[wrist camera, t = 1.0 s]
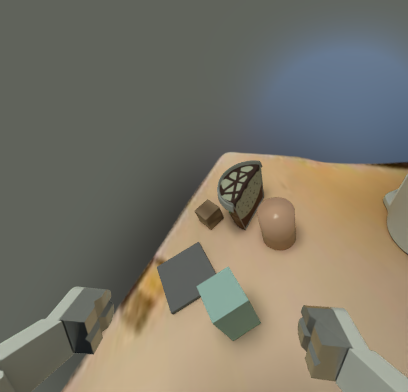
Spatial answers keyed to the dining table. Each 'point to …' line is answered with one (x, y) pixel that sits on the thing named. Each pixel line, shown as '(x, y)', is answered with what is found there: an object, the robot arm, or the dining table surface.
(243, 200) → the food container
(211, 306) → the tall green rectangular block
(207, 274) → the mat
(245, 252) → the dining table surface
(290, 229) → the tan rounded cylinder
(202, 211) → the walnut cube
